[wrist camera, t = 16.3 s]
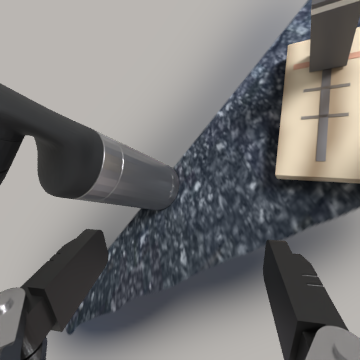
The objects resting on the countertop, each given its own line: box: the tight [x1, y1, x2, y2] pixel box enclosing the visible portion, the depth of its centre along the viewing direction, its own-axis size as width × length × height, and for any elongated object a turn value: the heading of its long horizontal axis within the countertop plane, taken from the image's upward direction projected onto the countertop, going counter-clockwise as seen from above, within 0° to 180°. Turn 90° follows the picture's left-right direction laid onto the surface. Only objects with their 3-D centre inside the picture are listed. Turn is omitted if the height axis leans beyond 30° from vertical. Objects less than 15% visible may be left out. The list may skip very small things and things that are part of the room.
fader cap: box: [309, 0, 360, 72], centre depth 23 cm, size 4×3×10 cm
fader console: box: [275, 27, 360, 183], centre depth 27 cm, size 10×20×3 cm, turn 168°
